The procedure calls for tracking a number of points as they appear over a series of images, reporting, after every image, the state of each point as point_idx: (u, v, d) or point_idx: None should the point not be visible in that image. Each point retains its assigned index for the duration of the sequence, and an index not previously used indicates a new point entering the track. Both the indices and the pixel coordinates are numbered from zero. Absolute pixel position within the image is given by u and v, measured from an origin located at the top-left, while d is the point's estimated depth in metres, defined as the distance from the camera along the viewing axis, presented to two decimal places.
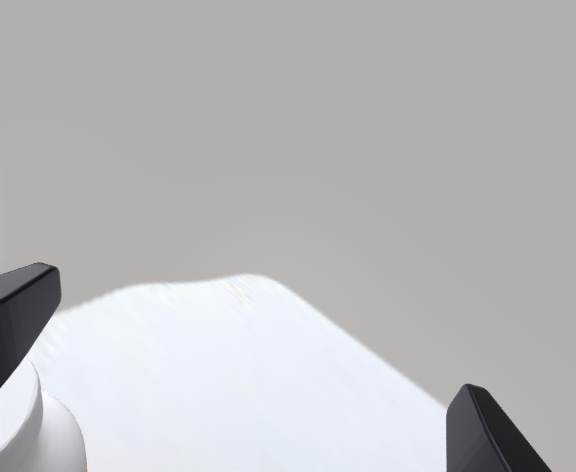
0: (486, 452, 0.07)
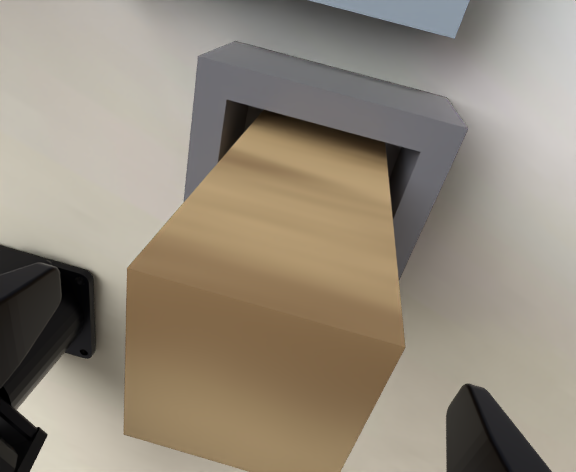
0: (486, 452, 0.07)
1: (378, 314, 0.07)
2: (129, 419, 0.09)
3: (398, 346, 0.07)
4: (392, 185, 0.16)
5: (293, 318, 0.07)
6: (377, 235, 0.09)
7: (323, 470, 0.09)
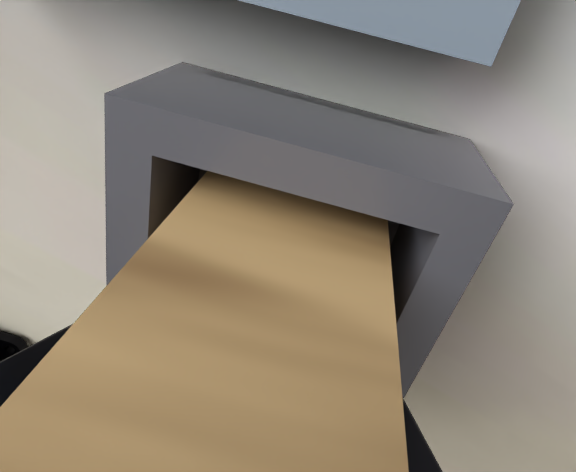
0: None
1: None
2: None
3: None
4: (396, 258, 0.12)
5: None
6: (375, 436, 0.05)
7: None
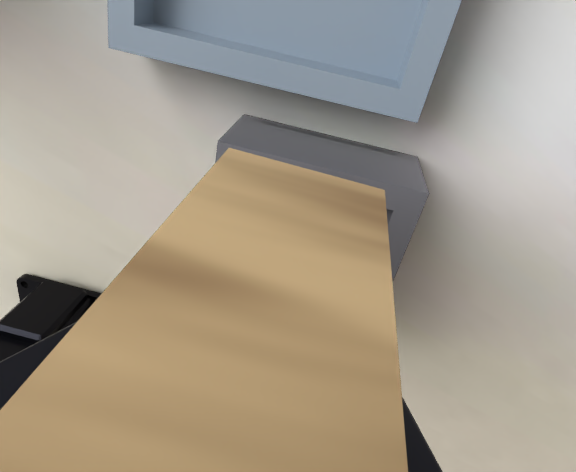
0: None
1: None
2: None
3: None
4: None
5: None
6: (374, 438, 0.05)
7: None
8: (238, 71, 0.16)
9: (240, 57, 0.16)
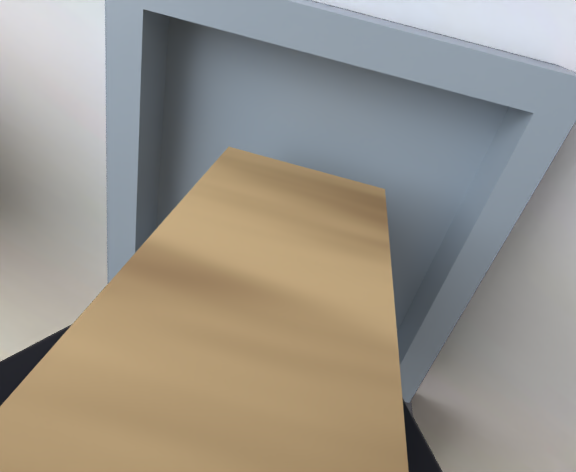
0: None
1: None
2: None
3: None
4: None
5: None
6: (375, 438, 0.05)
7: None
8: None
9: None
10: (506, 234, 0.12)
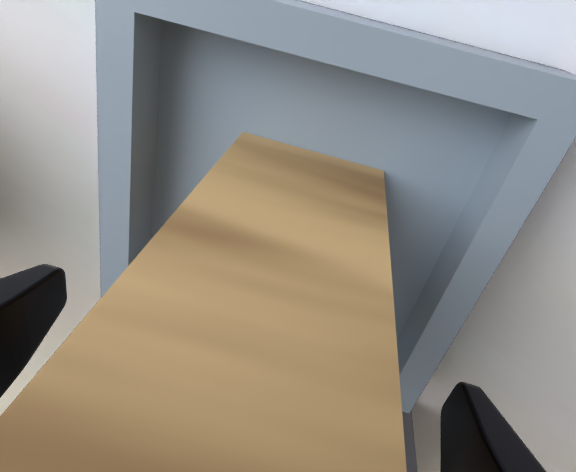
0: (479, 450, 0.07)
1: None
2: None
3: None
4: None
5: None
6: (373, 355, 0.06)
7: None
8: None
9: None
10: (508, 243, 0.12)
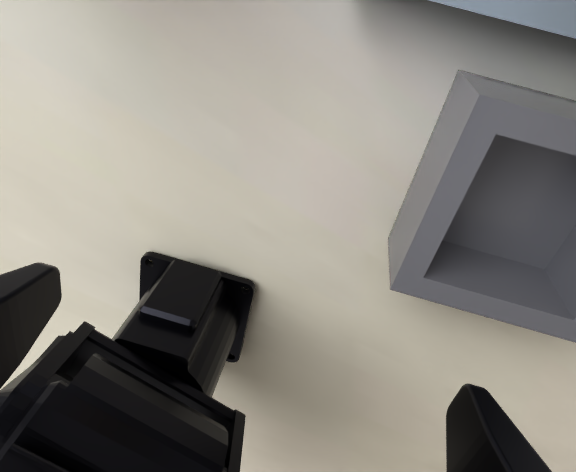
0: (486, 452, 0.07)
1: None
2: None
3: None
4: None
5: None
6: None
7: None
8: (506, 9, 0.13)
9: None
10: None
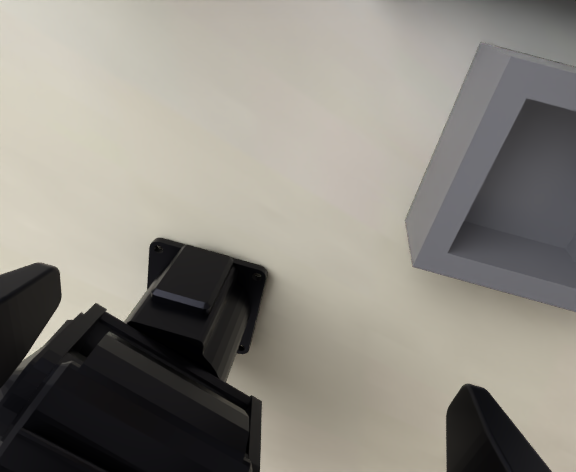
0: (486, 452, 0.07)
1: None
2: None
3: None
4: None
5: None
6: None
7: None
8: None
9: None
10: None
